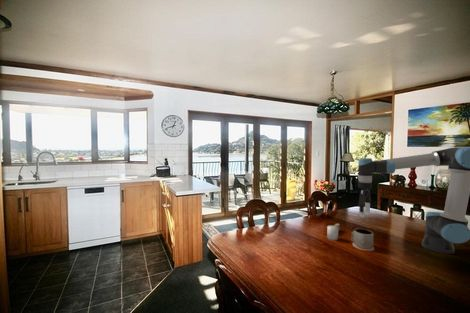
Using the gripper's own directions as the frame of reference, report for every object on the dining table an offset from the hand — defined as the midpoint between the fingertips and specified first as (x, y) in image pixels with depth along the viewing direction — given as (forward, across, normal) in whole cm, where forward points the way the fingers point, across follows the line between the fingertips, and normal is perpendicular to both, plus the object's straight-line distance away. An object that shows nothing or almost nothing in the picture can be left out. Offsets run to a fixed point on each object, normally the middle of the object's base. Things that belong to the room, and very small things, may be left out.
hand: (364, 214), depth 137 cm
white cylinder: (+21, +2, -20) cm, 28 cm away
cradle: (+21, -11, -15) cm, 28 cm away
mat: (+21, +1, 0) cm, 21 cm away
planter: (+20, +1, 0) cm, 21 cm away
